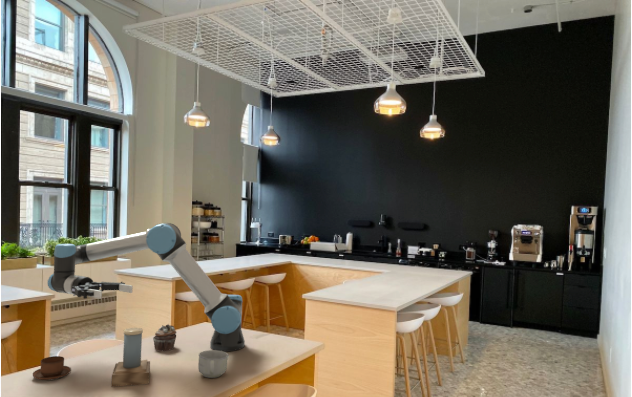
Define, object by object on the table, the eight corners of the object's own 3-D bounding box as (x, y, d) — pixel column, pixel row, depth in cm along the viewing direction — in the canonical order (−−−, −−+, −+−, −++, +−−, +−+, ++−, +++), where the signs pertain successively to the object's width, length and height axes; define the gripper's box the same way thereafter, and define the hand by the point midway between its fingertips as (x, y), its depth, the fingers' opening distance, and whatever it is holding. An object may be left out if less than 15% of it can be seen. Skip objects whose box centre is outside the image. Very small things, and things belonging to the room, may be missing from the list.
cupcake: (164, 343, 208) (165, 321, 208) (180, 347, 203) (181, 324, 203) (147, 349, 199) (148, 326, 199) (164, 353, 195) (165, 329, 195)
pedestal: (149, 371, 173) (150, 358, 173) (148, 383, 162) (149, 370, 162) (115, 374, 169) (115, 361, 169) (111, 386, 158) (111, 372, 158)
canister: (141, 361, 170) (143, 327, 170) (140, 367, 164) (142, 331, 164) (123, 363, 168) (124, 328, 168) (121, 369, 162) (122, 332, 162)
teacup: (202, 369, 177) (203, 348, 177) (230, 370, 177) (231, 349, 177) (191, 383, 163) (192, 360, 164) (221, 384, 163) (222, 362, 163)
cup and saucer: (24, 379, 162) (25, 361, 162) (54, 368, 174) (55, 352, 174) (48, 385, 158) (49, 367, 158) (78, 373, 169) (79, 357, 169)
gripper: (106, 290, 192) (142, 296, 182) (48, 300, 170) (86, 308, 160) (107, 272, 192) (143, 277, 182) (49, 280, 170) (87, 286, 160)
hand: (116, 291), depth 171 cm, fingers open, 13 cm apart
